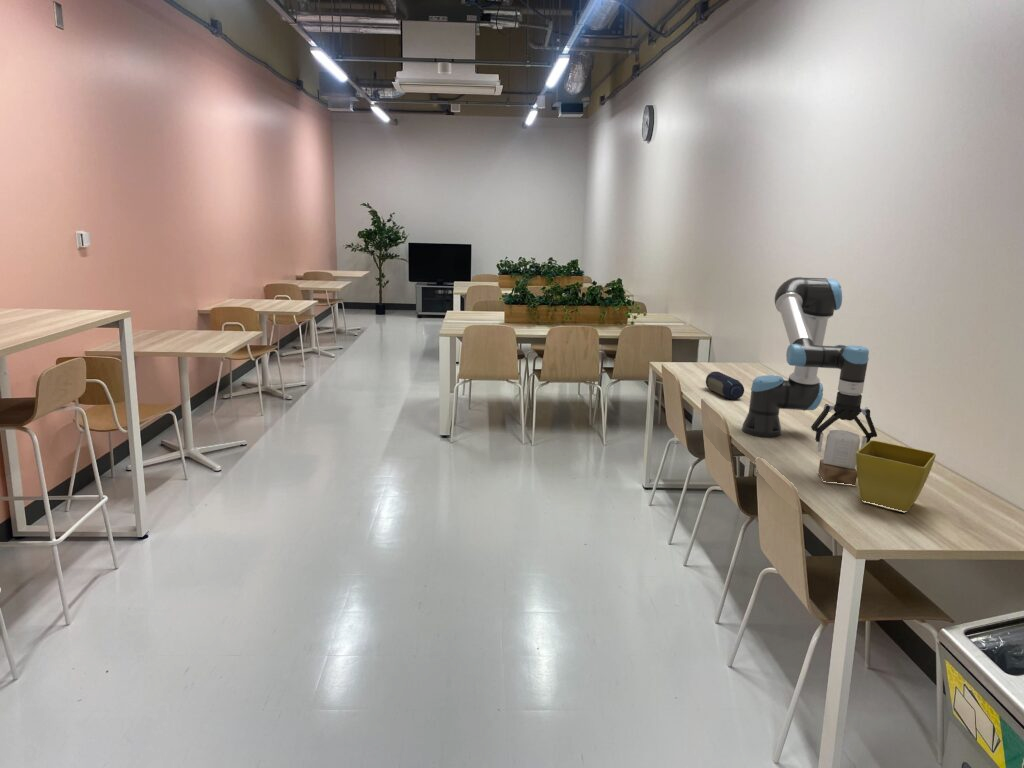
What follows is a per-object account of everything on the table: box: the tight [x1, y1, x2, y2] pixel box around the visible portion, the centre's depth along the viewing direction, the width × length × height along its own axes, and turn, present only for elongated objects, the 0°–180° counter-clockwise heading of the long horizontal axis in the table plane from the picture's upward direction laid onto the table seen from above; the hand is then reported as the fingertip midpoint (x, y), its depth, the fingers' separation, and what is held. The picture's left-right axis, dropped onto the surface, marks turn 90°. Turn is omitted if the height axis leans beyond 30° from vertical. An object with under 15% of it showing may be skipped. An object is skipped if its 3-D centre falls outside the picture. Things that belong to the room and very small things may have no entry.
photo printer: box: [823, 429, 861, 469], centre depth 241 cm, size 10×4×12 cm, turn 60°
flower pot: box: [855, 439, 937, 512], centre depth 223 cm, size 19×19×17 cm
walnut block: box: [817, 458, 857, 485], centre depth 243 cm, size 10×10×5 cm
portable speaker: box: [705, 371, 745, 401], centre depth 352 cm, size 25×10×10 cm, turn 13°
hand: (840, 453), depth 242 cm, fingers open, 13 cm apart
